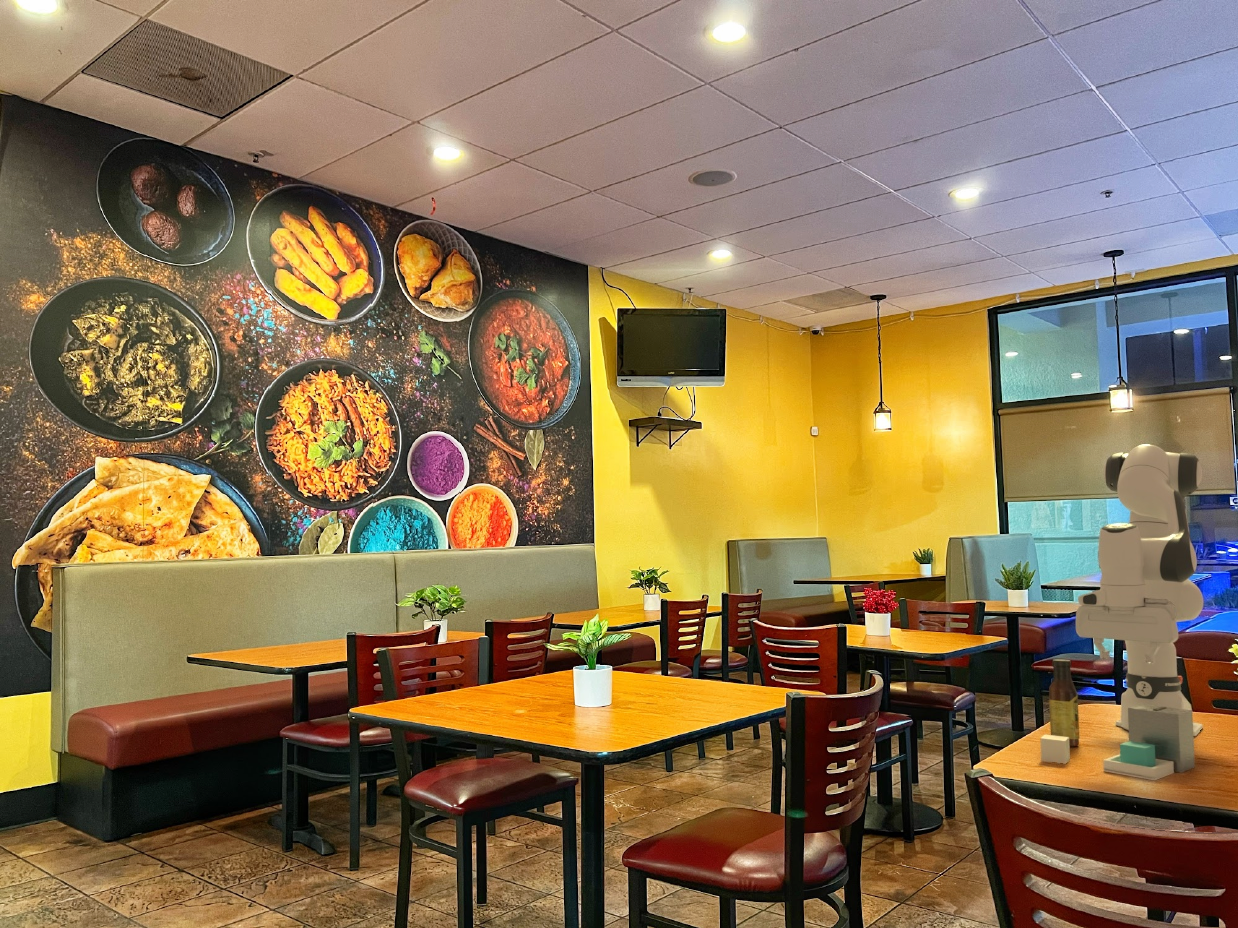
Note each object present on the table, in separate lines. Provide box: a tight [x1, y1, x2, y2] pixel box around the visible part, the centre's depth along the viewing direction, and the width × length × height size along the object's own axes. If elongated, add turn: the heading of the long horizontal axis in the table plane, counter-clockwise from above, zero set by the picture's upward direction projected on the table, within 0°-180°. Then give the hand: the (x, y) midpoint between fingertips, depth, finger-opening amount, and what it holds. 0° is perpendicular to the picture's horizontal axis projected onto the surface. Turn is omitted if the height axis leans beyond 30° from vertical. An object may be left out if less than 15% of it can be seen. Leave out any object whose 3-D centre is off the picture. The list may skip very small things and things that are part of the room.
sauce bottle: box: [1048, 658, 1081, 748], centre depth 224 cm, size 7×6×20 cm
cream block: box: [1040, 734, 1071, 765], centre depth 207 cm, size 5×5×5 cm
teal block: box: [1119, 740, 1156, 767], centre depth 197 cm, size 5×5×5 cm
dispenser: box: [1128, 704, 1196, 774], centre depth 203 cm, size 8×10×12 cm
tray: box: [1102, 753, 1175, 781], centre depth 197 cm, size 10×10×2 cm
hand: (1127, 660), depth 206 cm, fingers open, 8 cm apart
